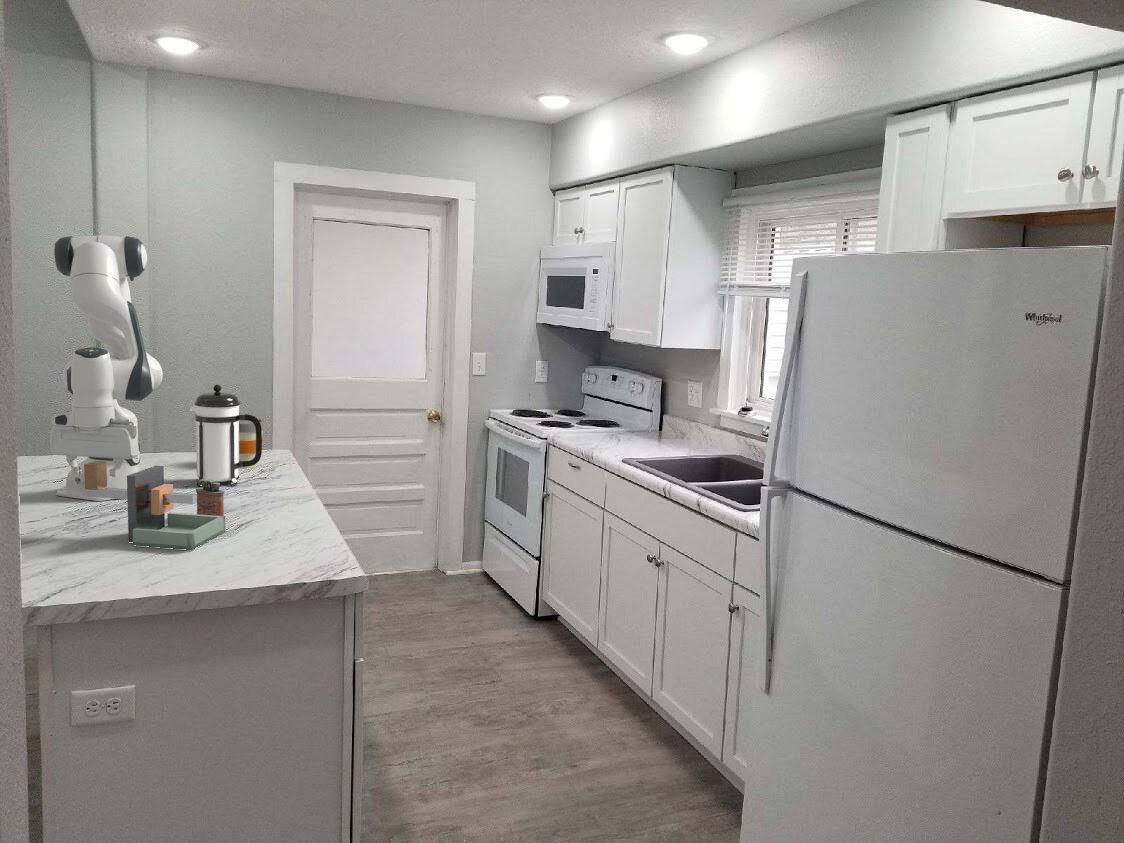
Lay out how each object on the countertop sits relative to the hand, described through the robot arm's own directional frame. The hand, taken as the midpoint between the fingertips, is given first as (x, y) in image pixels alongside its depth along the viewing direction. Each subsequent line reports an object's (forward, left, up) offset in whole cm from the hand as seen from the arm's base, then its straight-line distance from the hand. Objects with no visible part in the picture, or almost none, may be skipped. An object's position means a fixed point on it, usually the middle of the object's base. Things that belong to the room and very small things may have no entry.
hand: (95, 475), depth 207 cm
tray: (+21, 0, -14) cm, 25 cm away
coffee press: (+2, +58, -14) cm, 60 cm away
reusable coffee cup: (-3, +83, -14) cm, 84 cm away
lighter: (+18, +19, -14) cm, 30 cm away
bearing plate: (+12, 0, -14) cm, 19 cm away
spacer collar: (+16, 0, -8) cm, 18 cm away
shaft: (+11, 0, -5) cm, 12 cm away
